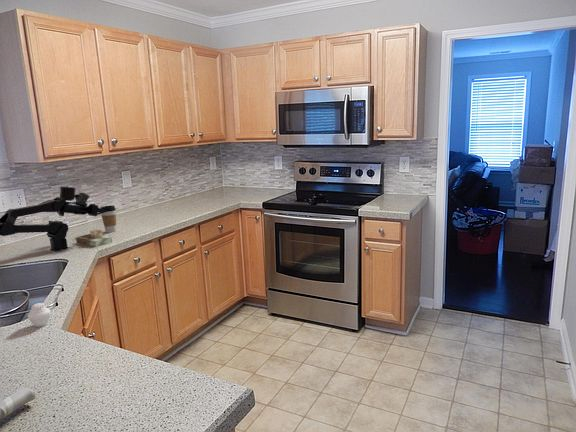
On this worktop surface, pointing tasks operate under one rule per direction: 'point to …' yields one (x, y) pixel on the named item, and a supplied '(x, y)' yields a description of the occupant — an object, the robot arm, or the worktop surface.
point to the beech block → (96, 233)
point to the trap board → (93, 240)
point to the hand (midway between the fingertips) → (100, 210)
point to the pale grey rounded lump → (39, 314)
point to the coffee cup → (109, 218)
